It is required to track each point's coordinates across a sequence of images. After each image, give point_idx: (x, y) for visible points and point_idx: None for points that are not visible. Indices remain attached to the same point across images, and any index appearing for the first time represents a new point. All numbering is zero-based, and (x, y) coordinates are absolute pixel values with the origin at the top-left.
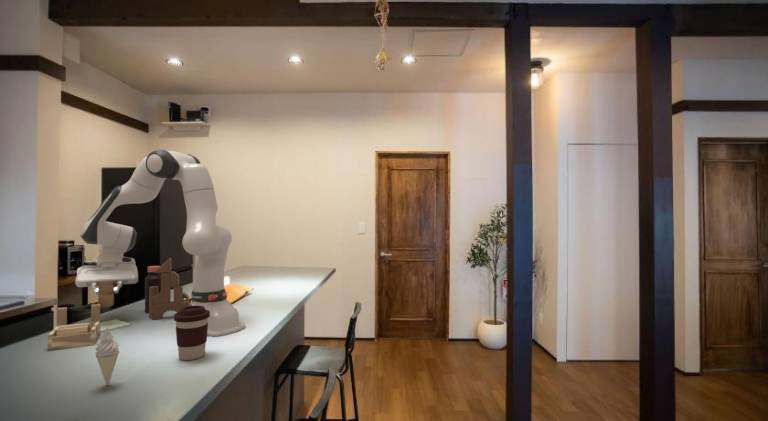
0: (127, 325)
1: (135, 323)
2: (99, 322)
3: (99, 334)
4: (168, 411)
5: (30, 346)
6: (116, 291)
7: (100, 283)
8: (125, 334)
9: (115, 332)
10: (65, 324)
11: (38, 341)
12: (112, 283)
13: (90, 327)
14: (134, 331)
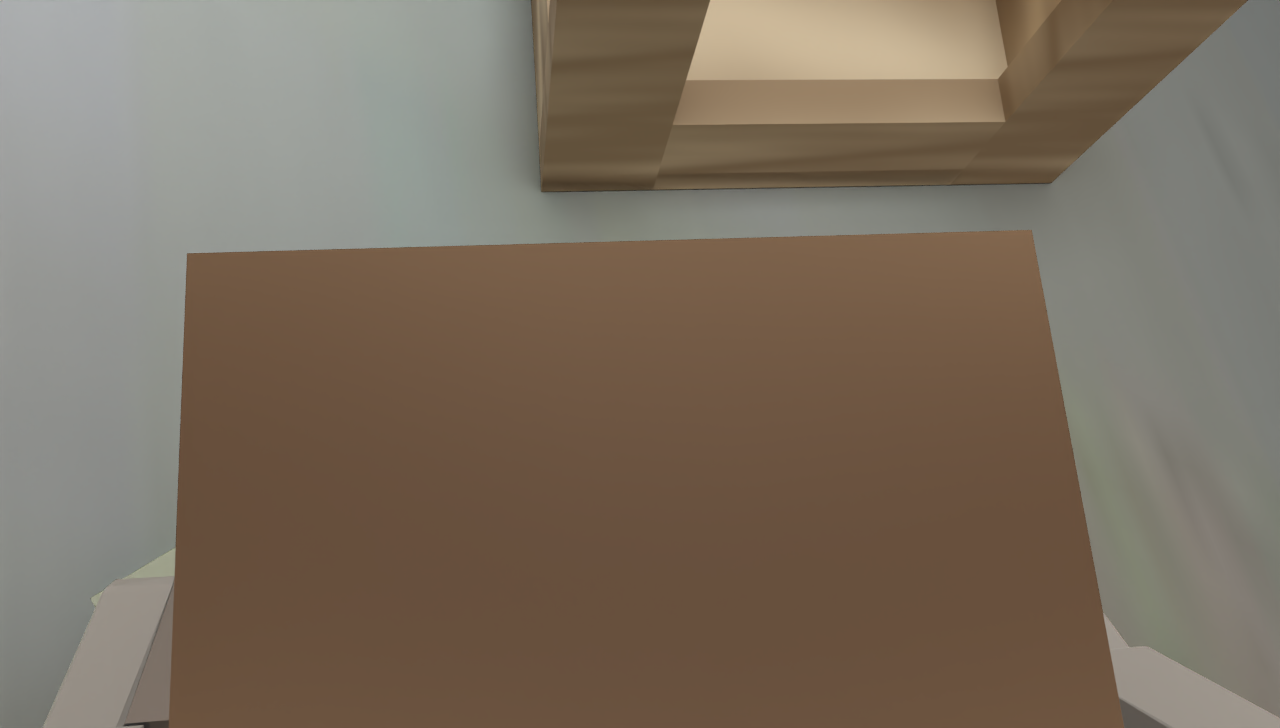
0: (162, 558)
1: (22, 713)
2: (546, 12)
3: (539, 131)
4: None
5: (1249, 33)
6: (172, 582)
7: (914, 249)
8: (169, 26)
9: (329, 209)
10: (1055, 18)
11: (1265, 219)
12: (228, 285)
13: (685, 115)
14: (38, 131)
